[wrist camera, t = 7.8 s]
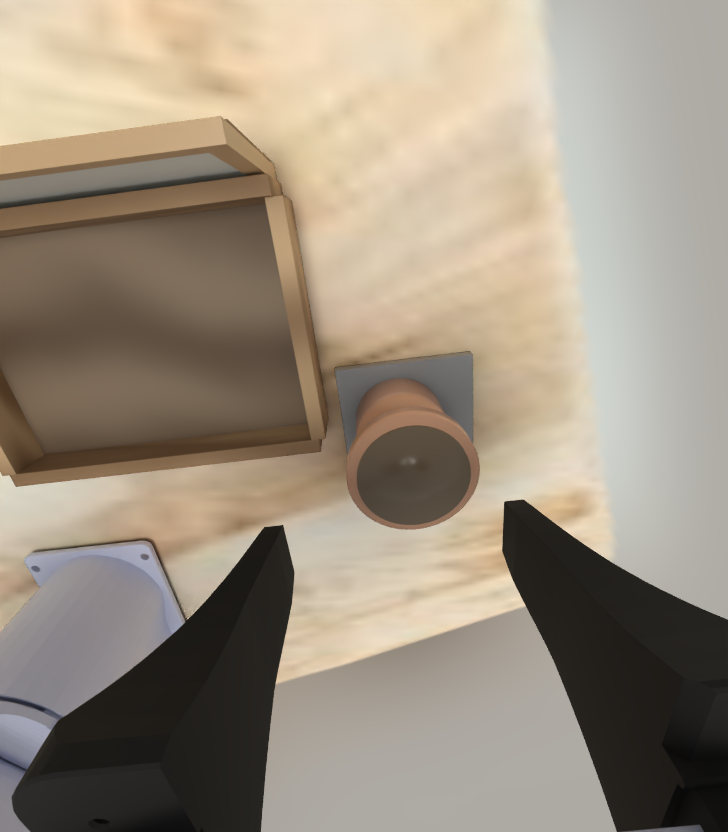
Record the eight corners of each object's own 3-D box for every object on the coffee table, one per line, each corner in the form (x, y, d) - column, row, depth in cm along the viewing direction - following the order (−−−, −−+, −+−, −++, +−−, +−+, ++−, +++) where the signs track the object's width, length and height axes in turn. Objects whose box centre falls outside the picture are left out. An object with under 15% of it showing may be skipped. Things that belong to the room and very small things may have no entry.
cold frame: (330, 429, 22) (321, 497, 16) (44, 462, 23) (-65, 540, 17) (284, 158, 17) (248, 115, 11) (-88, 208, 17) (-312, 192, 11)
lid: (276, 181, 17) (226, 144, 10) (-66, 226, 18) (-333, 219, 11) (273, 165, 17) (220, 116, 10) (-74, 212, 17) (-351, 194, 11)
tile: (470, 466, 23) (473, 472, 23) (352, 480, 24) (352, 485, 23) (469, 351, 21) (472, 354, 20) (335, 367, 21) (334, 370, 20)
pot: (453, 453, 22) (484, 520, 17) (358, 469, 23) (360, 541, 17) (442, 361, 20) (476, 406, 15) (338, 380, 20) (333, 431, 15)
